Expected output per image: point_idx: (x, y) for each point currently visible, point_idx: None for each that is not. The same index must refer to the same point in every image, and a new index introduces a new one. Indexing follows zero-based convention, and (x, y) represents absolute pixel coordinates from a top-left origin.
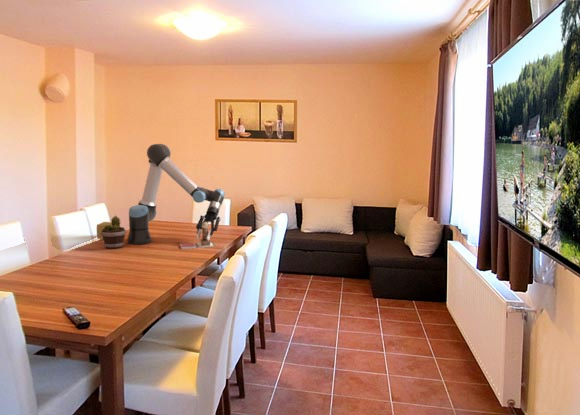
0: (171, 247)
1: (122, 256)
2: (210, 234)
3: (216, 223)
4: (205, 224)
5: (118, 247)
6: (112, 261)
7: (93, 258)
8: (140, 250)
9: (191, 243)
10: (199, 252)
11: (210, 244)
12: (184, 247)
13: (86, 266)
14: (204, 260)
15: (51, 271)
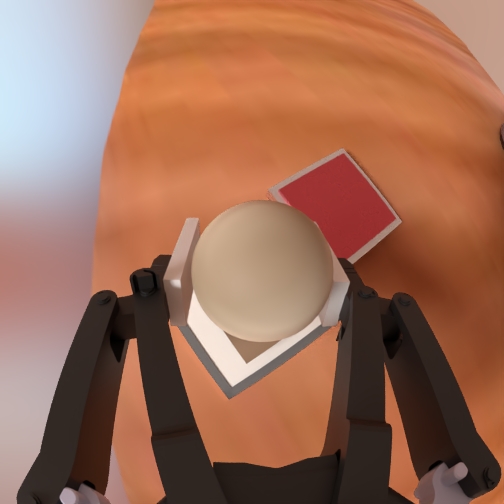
0: (403, 176)
1: (420, 60)
2: (168, 256)
3: (72, 372)
4: (231, 207)
5: (501, 139)
6: (394, 30)
7: (446, 56)
8: (448, 117)
9: (337, 239)
10: (197, 115)
11: (204, 313)
12: (328, 157)
13: (398, 16)
14: (137, 49)
15: (410, 9)
